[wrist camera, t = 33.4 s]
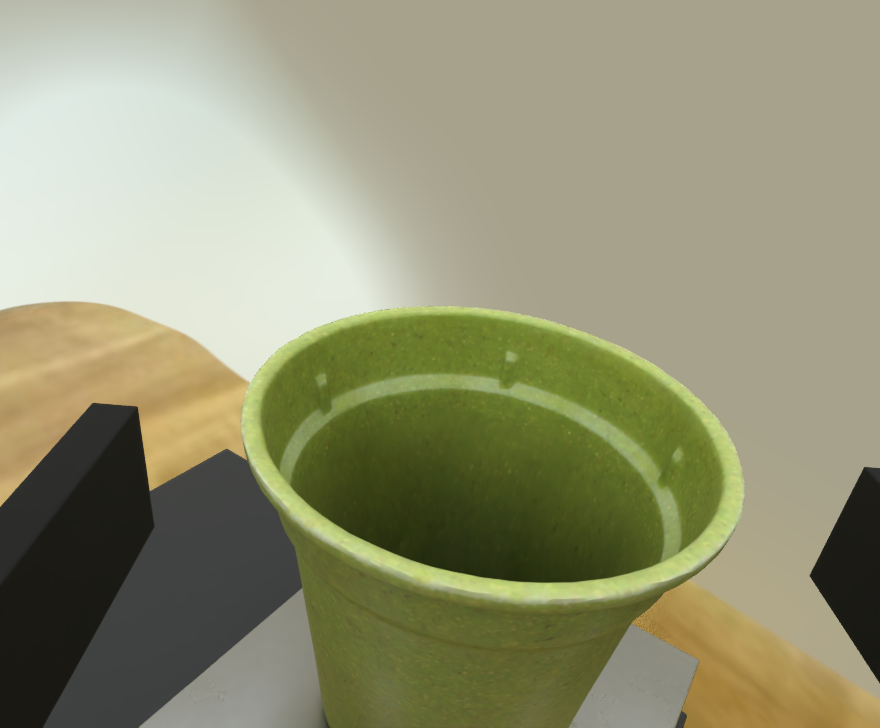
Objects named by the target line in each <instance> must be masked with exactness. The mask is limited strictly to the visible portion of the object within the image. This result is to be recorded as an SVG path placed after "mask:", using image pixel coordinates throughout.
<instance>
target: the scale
mask: <svg viewBox="0 0 880 728" xmlns="http://www.w3.org/2000/svg"><path fill="white" fill-rule="evenodd" d="M150 498H151V505H152V512H153V519H154V526H155V527H154V529H153V530H152V532H151V534H150V536H149V538H148V539H147V541H146V543H145V545H144V547H143V548H142V550H141V552H140V554H139V556H138V557H137V559H136V561H135V563H134V565H133V566H132V568H131V570H130V572H129V574H128V575H127V577H126V579H125V581H124V583H123V584H122V586H121V588H120V590H119V592H118V593H117V595H116V597H115V599H114V601H113V602H112V604H111V606H110V608H109V610H108V611H107V613H106V615H105V617H104V619H103V620H102V622H101V624H100V626H99V628H98V629H97V631H96V633H95V635H94V637H93V638H92V640H91V642H90V644H89V646H88V647H87V649H86V651H85V653H84V655H83V656H82V658H81V660H80V662H79V664H78V665H77V667H76V669H75V671H74V672H73V674H72V676H71V678H70V680H69V681H68V683H67V685H66V687H65V689H64V690H63V692H62V694H61V696H60V698H59V699H58V701H57V703H56V705H55V707H54V708H53V710H52V712H51V714H50V716H49V717H48V719H47V721H46V723H45V725H44V726H43V728H139V726H141V725H142V724H143V723H144V722H145V721H146V720H148V719H149V718H150V717H151V716H152V715H153V714H155V713H156V712H157V711H158V710H159V709H160V708H162V707H163V706H164V705H165V704H166V703H168V702H169V701H170V700H171V699H172V698H173V697H175V696H176V695H177V694H178V693H179V692H180V691H182V690H183V689H184V688H185V687H186V686H188V685H189V684H190V683H191V682H192V681H193V680H195V679H196V678H197V677H198V676H199V675H200V674H202V673H203V672H204V671H205V670H206V669H207V668H209V667H210V666H211V665H212V664H213V663H215V662H216V661H217V660H218V659H219V658H220V657H222V656H223V655H224V654H225V653H226V652H227V651H229V650H230V649H231V648H232V647H233V646H235V645H236V644H237V643H238V642H239V641H240V640H242V639H243V638H244V637H245V636H246V635H247V634H249V633H250V632H251V631H252V630H253V629H254V628H256V627H257V626H258V625H259V624H260V623H262V622H263V621H264V620H265V619H266V618H267V617H269V616H270V615H271V614H272V613H273V612H274V611H276V610H277V609H278V608H279V607H280V606H282V605H283V604H284V603H285V602H286V601H287V600H289V599H290V598H291V597H292V596H293V595H294V594H296V593H297V592H298V591H299V590H300V589H301V588H302V583H301V577H300V572H299V567H298V562H297V556H296V551H295V547H294V545H293V544H292V542H291V541H290V539H289V537H288V536H287V534H286V532H285V530H284V527H283V525H282V522H281V520H280V517H279V514H278V511H277V510H276V509H275V508H274V507H273V505H272V504H271V503H270V501H269V500H268V498H267V497H266V496H265V494H264V493H263V492H262V490H261V489H260V487H259V485H258V483H257V481H256V479H255V477H254V475H253V473H252V471H251V468H250V466H249V464H248V461H247V460H245V459H244V458H242V457H240V456H239V455H237V454H235V453H233V452H232V451H230V450H228V449H225V450H223V451H222V452H220V453H218V454H216V455H214V456H213V457H211V458H209V459H207V460H205V461H204V462H202V463H200V464H198V465H196V466H195V467H193V468H191V469H189V470H187V471H186V472H184V473H182V474H180V475H178V476H177V477H175V478H173V479H171V480H169V481H168V482H166V483H164V484H162V485H160V486H159V487H157V488H155V489H153V490H151V491H150ZM686 718H687V715H686V714H685V713H684V712H682V711H681V713H680V716H679V719H678V722H677V724H676V727H675V728H683V726H684V723H685V721H686Z"/></svg>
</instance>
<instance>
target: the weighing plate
mask: <svg viewBox="0 0 880 728" xmlns="http://www.w3.org/2000/svg"><path fill="white" fill-rule="evenodd" d="M698 664H699V660H698V659H696V658H694V657H693V656H691V655H689V654H687V653H685V652H683V651H681V650H679V649H678V648H676V647H674V646H672V645H670V644H668V643H666V642H665V641H663V640H661V639H659V638H657V637H655V636H653V635H651V634H650V633H648V632H646V631H644V630H642V629H640V628H638V627H637V626H635V625H633V624H631V625H630V626H629V628H628V630H627V631H626V633H625V634H624V636H623V638H622V639H621V641H620V643H619V644H618V646H617V648H616V649H615V651H614V653H613V654H612V656H611V658H610V659H609V661H608V662H607V664H606V666H605V667H604V669H603V671H602V672H601V674H600V675H599V677H598V679H597V680H596V682H595V684H594V685H593V687H592V689H591V690H590V692H589V694H588V695H587V697H586V699H585V700H584V702H583V704H582V705H581V707H580V709H579V710H578V712H577V714H576V716H575V717H574V719H573V721H572V723H571V724H570V726H569V728H675V727H676V724H677V722H678V719H679V716H680V713H681V711H682V708H683V705H684V702H685V700H686V697H687V694H688V691H689V689H690V686H691V683H692V680H693V678H694V675H695V672H696V669H697V667H698ZM139 728H330V726H329V724H328V722H327V719H326V715H325V712H324V708H323V704H322V698H321V692H320V685H319V679H318V673H317V667H316V661H315V655H314V649H313V644H312V638H311V633H310V627H309V622H308V616H307V611H306V606H305V600H304V594H303V588H301V589H300V590H299V591H298V592H297V593H296V594H294V595H293V596H292V597H291V598H290V599H289V600H287V601H286V602H285V603H284V604H283V605H282V606H280V607H279V608H278V609H277V610H276V611H274V612H273V613H272V614H271V615H270V616H269V617H267V618H266V619H265V620H264V621H263V622H262V623H260V624H259V625H258V626H257V627H256V628H254V629H253V630H252V631H251V632H250V633H249V634H247V635H246V636H245V637H244V638H243V639H242V640H240V641H239V642H238V643H237V644H236V645H235V646H233V647H232V648H231V649H230V650H229V651H227V652H226V653H225V654H224V655H223V656H222V657H220V658H219V659H218V660H217V661H216V662H215V663H213V664H212V665H211V666H210V667H209V668H207V669H206V670H205V671H204V672H203V673H202V674H200V675H199V676H198V677H197V678H196V679H195V680H193V681H192V682H191V683H190V684H189V685H188V686H186V687H185V688H184V689H183V690H182V691H180V692H179V693H178V694H177V695H176V696H175V697H173V698H172V699H171V700H170V701H169V702H168V703H166V704H165V705H164V706H163V707H162V708H160V709H159V710H158V711H157V712H156V713H155V714H153V715H152V716H151V717H150V718H149V719H148V720H146V721H145V722H144V723H143V724H142V725H141V726H139Z"/></svg>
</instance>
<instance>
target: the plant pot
mask: <svg viewBox="0 0 880 728" xmlns="http://www.w3.org/2000/svg"><path fill="white" fill-rule="evenodd" d="M241 431H242V439H243V444H244V449H245V453H246V457H247V461H248V464H249V466H250V468H251V471H252V473H253V475H254V477H255V479H256V481H257V483H258V485H259V487H260V489H261V490H262V492H263V493H264V494H265V496H266V497H267V498H268V500H269V501H270V503H271V504H272V505H273V507H274V508H275V509H276V510H277V511H278V514H279V517H280V520H281V522H282V525H283V527H284V530H285V532H286V534H287V536H288V537H289V539H290V541H291V542H292V544H293V545H294V547H295V551H296V556H297V562H298V567H299V572H300V577H301V583H302V588H303V594H304V600H305V606H306V611H307V616H308V622H309V627H310V633H311V638H312V644H313V649H314V655H315V661H316V667H317V673H318V679H319V685H320V692H321V698H322V704H323V708H324V712H325V715H326V719H327V722H328V724H329V726H330V728H569V726H570V724H571V723H572V721H573V719H574V717H575V716H576V714H577V712H578V710H579V709H580V707H581V705H582V704H583V702H584V700H585V699H586V697H587V695H588V694H589V692H590V690H591V689H592V687H593V685H594V684H595V682H596V680H597V679H598V677H599V675H600V674H601V672H602V671H603V669H604V667H605V666H606V664H607V662H608V661H609V659H610V658H611V656H612V654H613V653H614V651H615V649H616V648H617V646H618V644H619V643H620V641H621V639H622V638H623V636H624V634H625V633H626V631H627V630H628V628H629V626H630V625H631V623H632V621H634V620H635V619H636V618H637V617H639V616H640V615H641V614H643V613H644V612H645V611H646V610H648V609H649V608H650V607H651V606H652V605H653V604H654V603H655V602H656V601H657V600H658V599H659V598H660V597H661V596H662V595H663V593H665V592H667V591H669V590H671V589H673V588H675V587H677V586H679V585H680V584H682V583H684V582H685V581H687V580H688V579H690V578H691V577H693V576H695V575H696V574H697V573H699V572H700V571H701V570H702V569H704V568H705V567H706V566H707V565H708V564H709V563H710V562H711V561H712V560H713V559H714V558H715V557H716V556H717V555H718V554H719V553H720V552H721V550H722V549H723V548H724V546H725V545H726V543H727V542H728V540H729V538H730V537H731V535H732V534H733V532H734V531H735V527H736V525H737V524H738V521H739V519H740V517H741V514H742V510H743V505H744V495H745V484H744V478H743V471H742V468H741V463H740V460H739V457H738V455H737V452H736V449H735V446H734V444H733V442H732V441H731V439H730V436H729V435H728V433H727V432H726V431H725V429H724V427H723V426H722V425H721V423H720V422H719V420H718V419H717V418H716V416H715V415H714V414H713V413H711V412H710V411H709V410H708V408H707V407H706V406H705V405H704V404H703V402H702V401H700V400H699V399H698V398H697V397H696V396H694V394H693V393H692V392H691V391H690V390H688V389H687V388H686V387H685V386H683V385H682V384H681V383H680V382H678V381H677V380H675V379H674V378H672V377H670V376H669V375H667V374H666V373H665V372H664V371H662V370H661V369H660V368H658V367H657V366H655V365H654V364H652V363H651V362H649V361H646V360H645V359H643V358H641V357H639V356H637V355H636V354H634V353H632V352H630V351H628V350H626V349H624V348H622V347H620V346H617V345H615V344H613V343H611V342H608V341H606V340H603V339H600V338H598V337H596V336H593V335H591V334H588V333H585V332H582V331H580V330H577V329H573V328H570V327H568V326H563V325H560V324H558V323H555V322H552V321H548V320H544V319H540V318H536V317H530V316H527V315H523V314H517V313H511V312H507V311H501V310H493V309H486V308H472V307H458V306H439V307H434V306H424V307H409V308H395V309H386V310H378V311H374V312H369V313H363V314H359V315H355V316H351V317H347V318H343V319H340V320H337V321H334V322H331V323H328V324H325V325H322V326H320V327H317V328H315V329H313V330H311V331H309V332H306V333H304V334H303V335H301V336H299V337H298V338H296V339H294V340H292V341H290V342H288V343H287V344H285V345H284V346H283V347H281V348H279V349H278V351H276V352H275V353H274V354H273V355H272V356H271V357H270V358H269V360H268V361H267V362H266V363H265V364H264V365H263V366H262V367H261V368H260V369H259V371H258V372H257V373H256V375H255V376H254V378H253V379H252V381H251V383H250V384H249V386H248V389H247V392H246V394H245V398H244V402H243V406H242V414H241Z"/></svg>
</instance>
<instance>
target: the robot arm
mask: <svg viewBox="0 0 880 728" xmlns="http://www.w3.org/2000/svg"><path fill="white" fill-rule="evenodd" d="M154 527H155V526H154V519H153V512H152V505H151V498H150V491H149V484H148V477H147V470H146V463H145V456H144V448H143V441H142V434H141V427H140V420H139V413H138V407H135V406H123V405H111V404H99V403H92V405H91V406H90V407H89V408H88V409H87V410H86V411H85V412H84V414H83V415H82V416H81V417H80V418H79V419H78V420H77V421H76V422H75V424H74V425H73V426H72V427H71V428H70V429H69V430H68V431H67V433H66V434H65V435H64V436H63V437H62V438H61V439H60V440H59V442H58V443H57V444H56V445H55V446H54V447H53V448H52V449H51V451H50V452H49V453H48V454H47V455H46V456H45V457H44V458H43V460H42V461H41V462H40V463H39V464H38V465H37V466H36V467H35V469H34V470H33V471H32V472H31V473H30V474H29V475H28V476H27V478H26V479H25V480H24V481H23V482H22V483H21V484H20V485H19V487H18V488H17V489H16V490H15V491H14V492H13V493H12V494H11V496H10V497H9V498H8V499H7V500H6V501H5V502H4V503H3V505H2V506H1V507H0V728H43V726H44V725H45V723H46V721H47V719H48V717H49V716H50V714H51V712H52V710H53V708H54V707H55V705H56V703H57V701H58V699H59V698H60V696H61V694H62V692H63V690H64V689H65V687H66V685H67V683H68V681H69V680H70V678H71V676H72V674H73V672H74V671H75V669H76V667H77V665H78V664H79V662H80V660H81V658H82V656H83V655H84V653H85V651H86V649H87V647H88V646H89V644H90V642H91V640H92V638H93V637H94V635H95V633H96V631H97V629H98V628H99V626H100V624H101V622H102V620H103V619H104V617H105V615H106V613H107V611H108V610H109V608H110V606H111V604H112V602H113V601H114V599H115V597H116V595H117V593H118V592H119V590H120V588H121V586H122V584H123V583H124V581H125V579H126V577H127V575H128V574H129V572H130V570H131V568H132V566H133V565H134V563H135V561H136V559H137V557H138V556H139V554H140V552H141V550H142V548H143V547H144V545H145V543H146V541H147V539H148V538H149V536H150V534H151V532H152V530H153V529H154ZM810 577H811V579H812V580H813V582H814V583H815V585H816V586H817V588H818V589H819V591H820V593H821V594H822V596H823V597H824V598H825V600H826V602H827V603H828V605H829V606H830V608H831V609H832V611H833V612H834V614H835V615H836V617H837V618H838V620H839V622H840V623H841V625H842V626H843V628H844V629H845V630H846V632H847V634H848V635H849V637H850V638H851V640H852V641H853V643H854V645H855V646H856V647H857V649H858V650H859V652H860V654H861V655H862V657H863V658H864V660H865V661H866V663H867V664H868V666H869V667H870V669H871V671H872V672H873V674H874V675H875V677H876V678H877V679H878V681H879V683H880V468H870V467H864V469H863V471H862V473H861V475H860V477H859V479H858V481H857V483H856V485H855V487H854V489H853V491H852V492H851V495H850V496H849V499H848V500H847V502H846V504H845V506H844V508H843V511H842V513H841V514H840V516H839V518H838V520H837V522H836V524H835V526H834V528H833V530H832V532H831V534H830V536H829V538H828V540H827V542H826V544H825V546H824V548H823V550H822V552H821V554H820V556H819V558H818V560H817V562H816V564H815V566H814V568H813V570H812V572H811V574H810Z"/></svg>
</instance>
